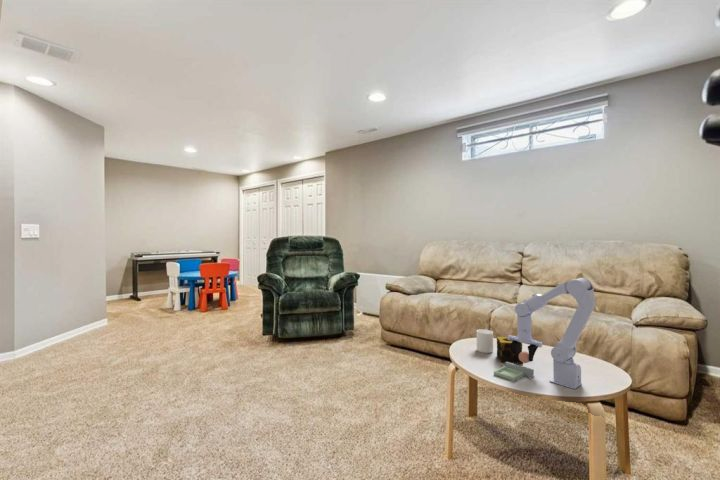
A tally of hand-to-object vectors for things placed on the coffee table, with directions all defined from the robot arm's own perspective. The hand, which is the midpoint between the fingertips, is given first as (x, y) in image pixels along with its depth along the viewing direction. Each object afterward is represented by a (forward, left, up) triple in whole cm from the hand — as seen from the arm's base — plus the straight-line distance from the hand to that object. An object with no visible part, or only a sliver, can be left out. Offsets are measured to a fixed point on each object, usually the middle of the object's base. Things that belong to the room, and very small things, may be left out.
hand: (524, 359), depth 152 cm
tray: (+2, +10, -5) cm, 12 cm away
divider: (0, +5, -5) cm, 7 cm away
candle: (+11, -8, -6) cm, 15 cm away
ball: (0, 0, +1) cm, 1 cm away
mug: (+26, -13, -5) cm, 30 cm away
